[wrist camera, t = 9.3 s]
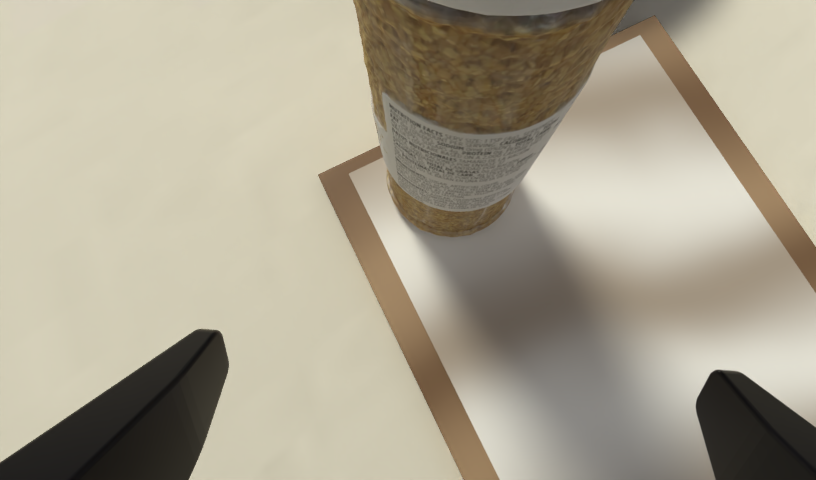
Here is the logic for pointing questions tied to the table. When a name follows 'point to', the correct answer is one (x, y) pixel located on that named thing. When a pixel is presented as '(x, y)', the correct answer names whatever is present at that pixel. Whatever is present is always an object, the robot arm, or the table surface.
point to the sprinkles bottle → (473, 96)
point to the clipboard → (599, 284)
